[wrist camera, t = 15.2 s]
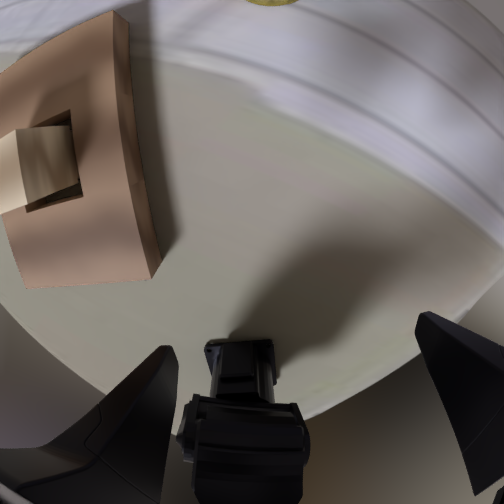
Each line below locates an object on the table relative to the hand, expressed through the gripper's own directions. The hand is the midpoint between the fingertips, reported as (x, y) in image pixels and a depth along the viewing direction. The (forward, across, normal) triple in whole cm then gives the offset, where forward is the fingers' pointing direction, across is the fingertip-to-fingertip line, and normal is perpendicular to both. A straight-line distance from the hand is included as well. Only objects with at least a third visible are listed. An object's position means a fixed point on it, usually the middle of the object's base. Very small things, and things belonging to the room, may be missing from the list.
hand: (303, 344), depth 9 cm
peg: (+13, +16, -8) cm, 22 cm away
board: (+13, +16, -8) cm, 22 cm away
